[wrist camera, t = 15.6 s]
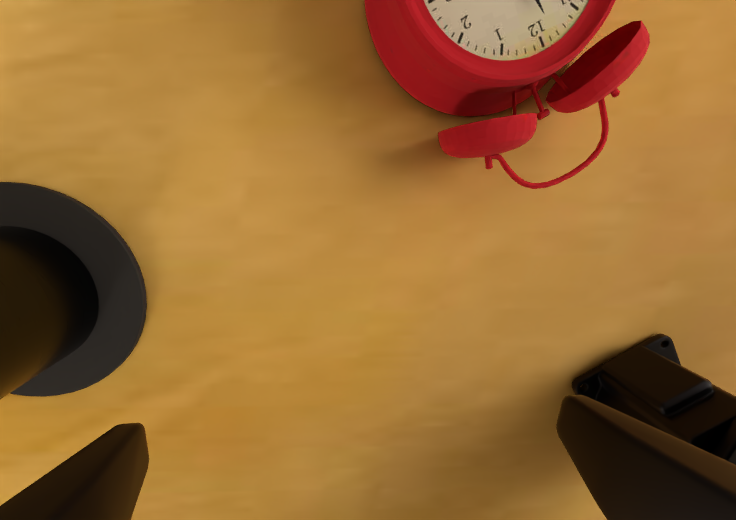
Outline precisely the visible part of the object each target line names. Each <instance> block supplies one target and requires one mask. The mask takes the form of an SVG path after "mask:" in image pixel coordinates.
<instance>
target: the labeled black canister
mask: <svg viewBox="0 0 736 520" xmlns="http://www.w3.org/2000/svg"><path fill="white" fill-rule="evenodd" d="M98 310H99V299H98V293H97V289H96V286H95V283H94V280H93V278H92V276H91V274H90V272H89V271H88V269H87V268H86V266H85V265H84V263H83V262H82V261H81V260H80V259H79V257H78V256H77V255H76V254H74V253H73V252H72V251H71V250H70V249H69V248H68V247H66V246H65V245H64V244H62V243H61V242H59V241H57V240H56V239H54V238H52V237H50V236H48V235H46V234H43V233H41V232H38V231H35V230H31V229H27V228H22V227H14V226H0V399H1V398H3V397H4V396H6V395H7V394H9V393H11V392H12V391H14V390H15V389H17V388H18V387H20V386H21V385H23V384H24V383H26V382H28V381H29V380H31V379H32V378H34V377H35V376H37V375H38V374H40V373H41V372H43V371H45V370H46V369H48V368H49V367H51V366H52V365H54V364H55V363H57V362H58V361H60V360H62V359H63V358H65V357H66V356H68V355H69V354H71V353H72V352H74V351H75V350H77V349H78V348H79V347H80V346H81V345H82V344H83V343H84V342H85V341H86V340H87V339H88V337H89V336H90V334H91V333H92V331H93V329H94V326H95V324H96V321H97V317H98Z"/></svg>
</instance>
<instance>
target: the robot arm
mask: <svg viewBox="0 0 736 520" xmlns="http://www.w3.org/2000/svg"><path fill="white" fill-rule="evenodd" d="M582 384H583V386H582V387H580V386H581V385H582ZM572 389H573V391H574V393H575V395H569V396H566V397H565V398H564V399H563V400H562V404H561V408H560V412H559V415H558V419H557V424H556V429H557V433H558V436H559V438H560V439H561V441H562V443H563V445H564V446H565V448H566V450H567V452H568V454H569V455H570V457H571V459H572V461H573V462H574V464H575V466H576V468H577V470H578V471H579V473H580V475H581V477H582V478H583V480H584V482H585V484H586V486H587V487H588V489H589V491H590V493H591V494H592V496H593V498H594V499H595V501H596V503H597V504H598V506H599V508H600V509H601V511H602V512H603V514H604V515H605V517H606V518H607V520H736V397H735V396H734V395H732V394H730V393H728V392H726V391H724V390H722V389H720V388H718V387H717V386H715V385H713V384H711V382H710V381H709V380H707V379H705V378H703V377H702V376H700V375H698V374H696V373H694V372H692V371H690V370H688V369H686V368H684V367H682V366H681V364H680V361H679V359H678V356H677V353H676V350H675V347H674V344H673V341H672V339H671V338H670V337H668V336H666V335H664V334H657V335H655V336H653V337H651V338H649V339H648V340H646V341H644V342H642V343H640V344H638V345H636V346H635V347H633V348H631V349H629V350H627V351H625V352H624V353H622V354H620V355H618V356H616V357H614V358H612V359H611V360H609V361H607V362H605V363H603V364H601V365H599V366H598V367H596V368H594V369H592V370H590V371H588V372H587V373H585V374H583V375H581V376H579V377H577V378H576V379H575V380H574V381H573V382H572ZM148 464H149V454H148V447H147V441H146V434H145V428H144V426H143V425H142V424H140V423H130V424H119V425H117V426H115V427H113V428H112V429H110V430H109V431H107V432H106V433H105V434H103V435H102V436H100V437H99V438H97V439H96V440H94V441H93V442H92V443H90V444H89V445H87V446H86V447H84V448H83V449H81V450H80V451H79V452H77V453H76V454H74V455H73V456H71V457H70V458H69V459H67V460H66V461H64V462H63V463H61V464H60V465H58V466H57V467H56V468H54V469H53V470H51V471H50V472H48V473H47V474H45V475H44V476H43V477H41V478H40V479H38V480H37V481H35V482H34V483H33V484H31V485H30V486H28V487H27V488H25V489H24V490H22V491H21V492H20V493H18V494H17V495H15V496H14V497H12V498H11V499H9V500H8V501H7V502H5V503H4V504H2V505H1V506H0V520H131V517H132V514H133V511H134V508H135V505H136V502H137V499H138V496H139V493H140V490H141V487H142V484H143V481H144V478H145V475H146V472H147V469H148Z"/></svg>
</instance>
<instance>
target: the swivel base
mask: <svg viewBox="0 0 736 520" xmlns="http://www.w3.org/2000/svg"><path fill="white" fill-rule="evenodd" d="M0 226H14V227H22V228H27V229H31V230H35V231H38V232H41V233H43V234H46V235H48V236H50V237H52V238H54V239H56V240H57V241H59V242H61V243H62V244H64V245H65V246H66V247H68V248H69V249H70V250H71V251H72V252H73V253H74V254H76V255H77V256H78V257H79V259H80V260H81V261H82V262H83V263H84V265H85V266H86V268H87V269H88V271H89V272H90V274H91V276H92V278H93V280H94V283H95V286H96V289H97V293H98V299H99V310H98V317H97V321H96V324H95V326H94V329H93V331H92V333H91V334H90V336H89V337H88V339H87V340H86V341H85V342H84V343H83V344H82V345H81V346H80V347H79V348H78V349H77V350H75V351H74V352H72V353H71V354H69V355H68V356H66V357H65V358H63V359H62V360H60V361H58V362H57V363H55V364H54V365H52V366H51V367H49V368H48V369H46V370H45V371H43V372H41V373H40V374H38V375H37V376H35V377H34V378H32V379H31V380H29V381H28V382H26V383H24V384H23V385H21V386H20V387H18V388H17V389H15V390H14V391H12V392H11V393H10V394H16V395H24V396H54V395H61V394H66V393H71V392H75V391H78V390H81V389H84V388H86V387H88V386H91V385H93V384H95V383H97V382H99V381H100V380H102V379H103V378H105V377H106V376H108V375H109V374H111V373H112V372H113V371H114V370H115V369H116V368H118V367H119V366H120V365H121V364H122V363H123V362H124V361H125V360H126V358H127V357H128V356H129V355H130V354H131V352H132V351H133V349H134V347H135V346H136V344H137V342H138V340H139V338H140V336H141V333H142V330H143V326H144V323H145V318H146V309H147V301H146V290H145V284H144V279H143V276H142V273H141V270H140V267H139V265H138V263H137V261H136V259H135V257H134V255H133V253H132V251H131V250H130V248H129V247H128V245H127V244H126V242H125V241H124V240H123V238H122V237H121V236H120V235H119V234H118V232H117V231H116V230H115V229H114V228H113V227H112V226H111V225H110V224H109V223H108V222H107V221H106V220H105V219H104V218H102V217H101V216H100V215H98V214H97V213H96V212H94V211H93V210H92V209H91V208H89V207H87V206H86V205H84V204H82V203H81V202H79V201H77V200H75V199H73V198H71V197H69V196H67V195H65V194H62V193H60V192H57V191H54V190H51V189H48V188H45V187H41V186H36V185H31V184H25V183H13V182H0Z"/></svg>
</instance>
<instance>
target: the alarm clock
mask: <svg viewBox="0 0 736 520" xmlns="http://www.w3.org/2000/svg"><path fill="white" fill-rule="evenodd" d="M364 1H365V11H366V18H367V22H368V27H369V31H370V34H371V37H372V40H373V43H374V45H375V48H376V50H377V52H378V55H379V57H380V58H381V60H382V62H383V64H384V65H385V67H386V68H387V70H388V71H389V73H390V74H391V76H392V77H393V78H394V79H395V80H396V81H397V83H398V84H399V85H400V86H401V87H402V88H403V89H404V90H405V91H406V92H408V93H409V94H410V95H411V96H413V97H414V98H415V99H417V100H418V101H420V102H421V103H423V104H425V105H427V106H429V107H431V108H433V109H436V110H438V111H441V112H444V113H448V114H452V115H458V116H482V115H488V114H493V113H498V112H501V111H504V110H506V109H508V108H510V107H512V108H513V115H511V116H505V117H499V118H493V119H488V120H483V121H478V122H473V123H469V124H465V125H460V126H456V127H453V128H449V129H446V130H443V131H441V132H439V133H438V138H439V143H440V146H441V148H442V150H443V151H444V152H445V153H446V154H448V155H450V156H453V157H458V158H475V157H484V156H485V163H486V169H491V168H492V167H493V166H492V159H497V160H499V162H500V164H501V165H502V167H503V168H504V170H505V171H506V172H507V174H508V175H509V176H510V177H511V178H512V179H513V180H514V181H515V182H517V183H518V184H520V185H521V186H524V187H528V188H532V189H537V188H546V187H549V186H552V185H555V184H558V183H560V182H562V181H564V180H566V179H568V178H570V177H572V176H574V175H575V174H577V173H578V172H580V171H581V170H582V169H584V168H585V167H587V166H588V165H589V164H590V163H591V162H592V161H593V160H594V159H595V158H596V157H597V156H598V155H599V153H600V152H601V151H602V149H603V147H604V145H605V143H606V140H607V135H608V117H607V112H606V106H605V101H604V98H605V96H607V95H608V94H610V93H611V95H612V96H613V97H616V96H618V95H619V93H620V91H619V90H618V89H617V87H618V86H619V85H620V84H622V83H623V82H624V81H625V80H626V79H627V78H628V77H629V76H630V75H631V74H632V73H633V71H634V70H635V69H636V68H637V67H638V65H639V64H640V63H641V61H642V59H643V57H644V56H645V54H646V52H647V49H648V46H649V43H650V41H649V33H648V31H647V29H646V27H645V26H644V24H643V23H642V21H633V22H630V23H628V24H626V25H624V26H622V27H620V28H618V29H617V30H615V31H614V32H612V33H610V34H609V35H607V36H606V37H604V38H603V39H601V40H600V41H599V42H597V43H596V44H595V45H594V46H592V47H591V48H590V49H589V50H587V51H586V52H585V53H584V54H583V55H582V56H581V57H580V58H579V59H577V60H576V61H575V62H574V63H573V64H572V65H571V66H570V67H569V68H568V69H567V70H566V71H565V73H564V74H563V75H562V76H561V77H560V78H559V76H558V75H557V74H556V73H555V72H556V71H558V70H559V69H560V68H562V67H563V66H565V65H566V64H567V63H569V62H570V61H571V60H573V59H574V58H575V57H576V56H577V55H578V54H579V53H580V52H581V51H582V50H583V48H584V47H585V46H586V45H587V44H588V43H589V41H590V40H591V39H592V38H593V36H594V35H595V34H596V32H597V31H598V30H599V29H600V27H601V26H602V24H603V23H604V21H605V20H606V18H607V16H608V15H609V13H610V11H611V9H612V7H613V5H614V3H615V0H364ZM551 77H552V78H553V79H554V80H555V81H556V83H555V84H554V85H553V87H552V88H551V90H550V91H549V92H548V94H547V97H546V100H545V101H546V102H547V103H548V104H549V105H550V106H551V107H552V108H554V109H555V110H556V111H558V112H563V113H571V112H576V111H579V110H582V109H584V108H587V107H589V106H591V105H593V104H594V103H596V102H598V103H599V109H600V115H601V121H602V134H601V139H600V142H599V144H598V146H597V148H596V150H595V151H594V152H593V153H592V154H591V155H590V156H589V157H588V159H587V160H586V161H585V162H583V163H582V164H580V165H579V166H578V167H576V168H575V169H573V170H572V171H570V172H569V173H567V174H565V175H563V176H561V177H559V178H556V179H554V180H551V181H548V182H543V183H530V182H527V181H524V180H523V179H521V178H520V177H518V176H517V175H516V173H515V172H514V171H513V170H512V169H511V168H510V167H509V165H508V164H507V163H506V161H505V160H504V158H503V157H502V156H501V155H500V154H499V153H503V152H507V151H509V150H512V149H515V148H518V147H520V146H522V145H523V144H525V143H526V142H527V141H528V140H529V139H531V138H532V136H533V134H534V132H535V130H536V124H537V118H538V119H540V120H541V119H542V118H544V117H546V116H547V115H549V114H550V112H549V109H544V107H543V105H542V102H541V100H540V97H539V95H538V92H537V91H539V90H540V89H541V88H542V87H543V86H544V85H545V84H546V83H547V81H548V80H549V79H550V78H551ZM532 95H533V96H534V99H535V101H536V104H537V106H538V109H539V111H540V112H539V113H537V114H536V113H526V114H519V115H516V105H517V104H519V103H521V102H523V101H524V100H526V99H527V98H529V97H530V96H532Z"/></svg>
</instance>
